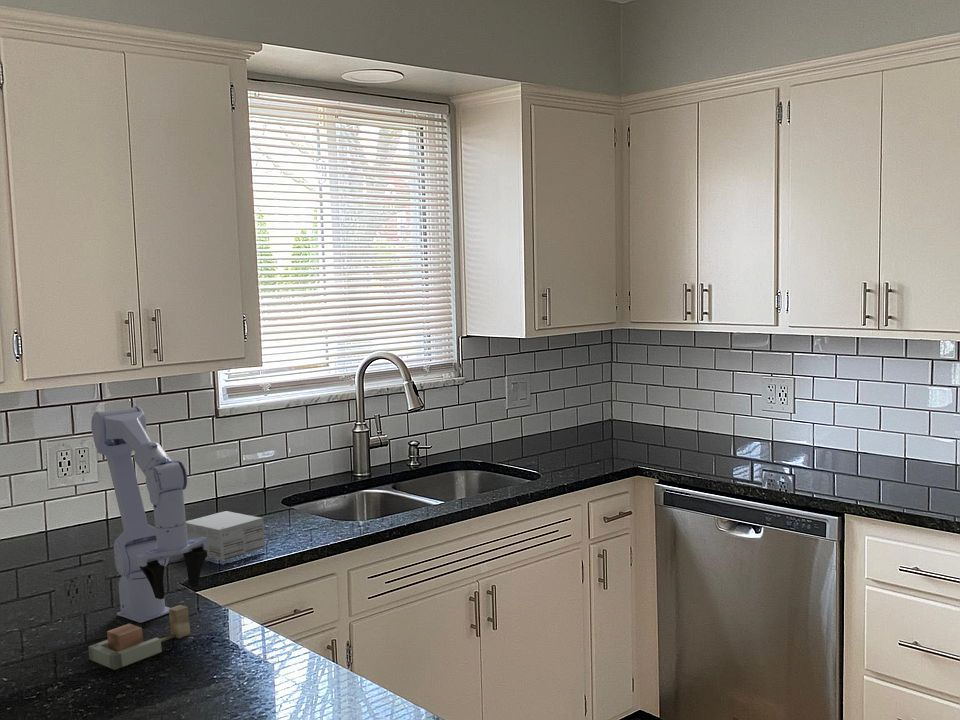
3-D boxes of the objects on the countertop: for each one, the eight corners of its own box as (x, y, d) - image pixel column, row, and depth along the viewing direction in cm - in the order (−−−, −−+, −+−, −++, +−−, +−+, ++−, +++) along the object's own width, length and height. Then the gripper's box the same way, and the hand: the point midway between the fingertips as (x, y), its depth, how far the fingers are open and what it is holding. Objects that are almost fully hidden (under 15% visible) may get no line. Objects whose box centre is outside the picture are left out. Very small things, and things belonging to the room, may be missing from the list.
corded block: (109, 657, 175) (106, 628, 175) (180, 630, 187) (177, 603, 186) (122, 662, 172) (119, 633, 172) (193, 635, 184) (190, 607, 184)
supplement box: (267, 553, 239) (264, 517, 238) (222, 567, 229) (219, 529, 229) (229, 543, 250) (226, 509, 250) (185, 556, 241) (182, 520, 240)
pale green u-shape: (89, 659, 175) (88, 646, 174) (136, 642, 182) (134, 629, 182) (114, 669, 169) (113, 656, 169) (161, 651, 176) (160, 638, 176)
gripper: (148, 536, 174) (154, 607, 176) (214, 518, 186) (220, 584, 187) (128, 531, 179) (134, 600, 180) (193, 514, 190) (199, 579, 191)
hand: (176, 592), depth 184 cm, fingers open, 7 cm apart
